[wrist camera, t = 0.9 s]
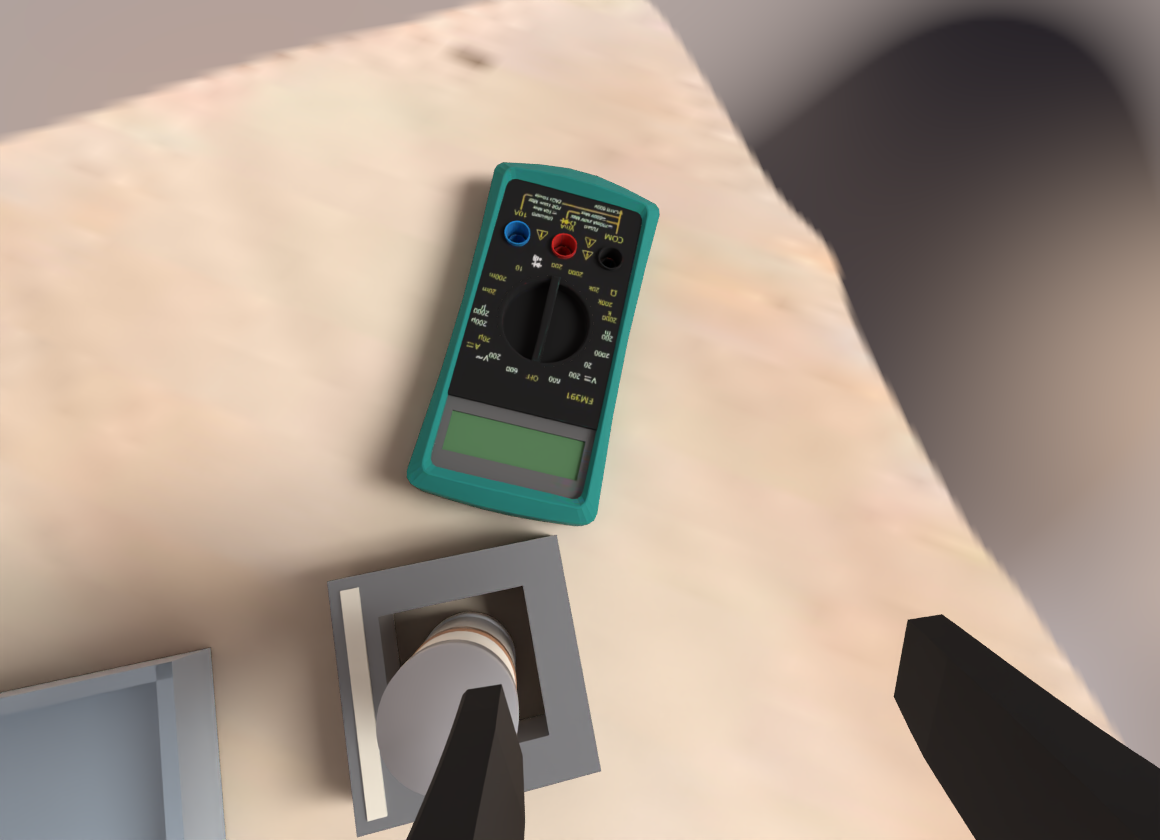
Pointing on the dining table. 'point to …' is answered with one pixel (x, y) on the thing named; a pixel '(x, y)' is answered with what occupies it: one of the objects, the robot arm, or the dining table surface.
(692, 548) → the dining table surface
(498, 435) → the digital multimeter
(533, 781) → the fuse block
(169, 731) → the parts tray
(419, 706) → the cylinder
